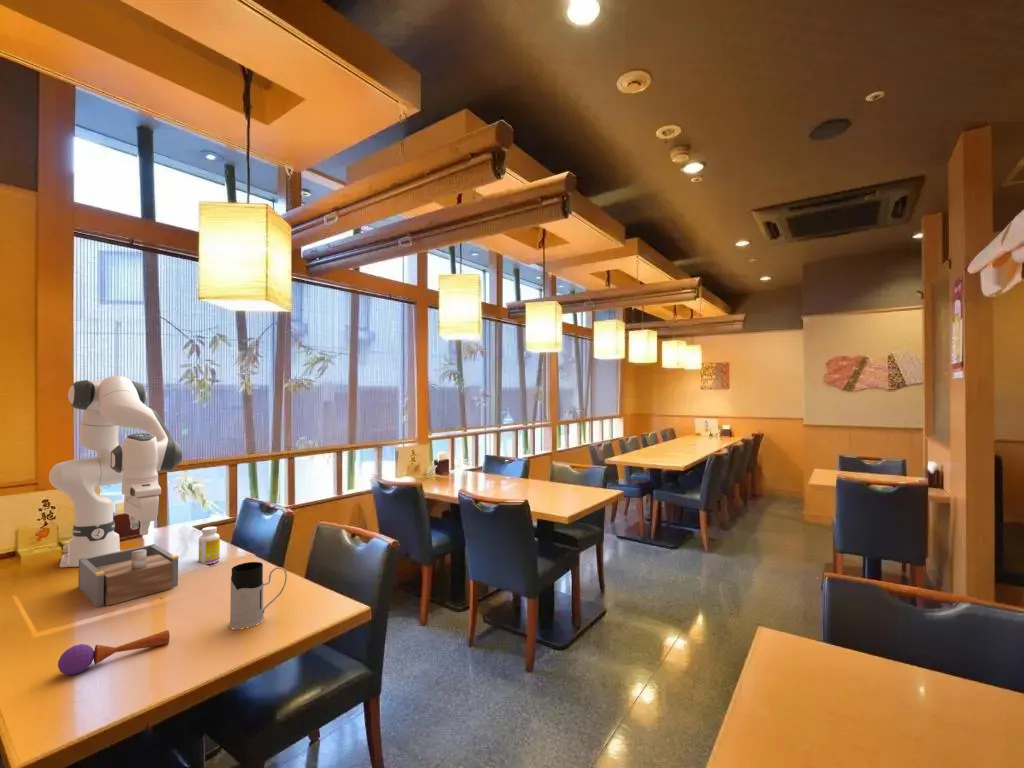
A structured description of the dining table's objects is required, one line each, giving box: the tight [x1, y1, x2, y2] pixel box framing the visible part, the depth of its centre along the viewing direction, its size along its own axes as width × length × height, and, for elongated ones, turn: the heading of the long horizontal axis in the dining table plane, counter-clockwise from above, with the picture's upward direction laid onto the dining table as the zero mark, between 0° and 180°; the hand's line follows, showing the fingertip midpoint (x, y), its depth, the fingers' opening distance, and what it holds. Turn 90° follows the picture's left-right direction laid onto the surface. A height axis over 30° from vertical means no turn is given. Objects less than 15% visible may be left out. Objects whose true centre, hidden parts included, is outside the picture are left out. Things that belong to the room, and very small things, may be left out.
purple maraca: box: [57, 629, 170, 676], centre depth 112 cm, size 6×6×20 cm
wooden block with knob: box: [96, 549, 174, 606], centre depth 149 cm, size 14×16×13 cm
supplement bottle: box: [198, 526, 221, 565], centre depth 178 cm, size 7×7×13 cm
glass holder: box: [227, 561, 288, 630], centre depth 131 cm, size 9×14×15 cm, turn 111°
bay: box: [77, 544, 179, 608], centre depth 153 cm, size 24×20×11 cm
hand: (139, 531), depth 147 cm, fingers open, 8 cm apart
